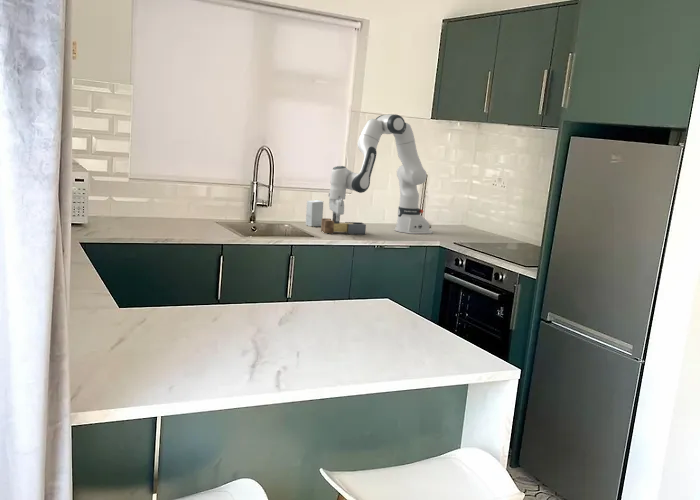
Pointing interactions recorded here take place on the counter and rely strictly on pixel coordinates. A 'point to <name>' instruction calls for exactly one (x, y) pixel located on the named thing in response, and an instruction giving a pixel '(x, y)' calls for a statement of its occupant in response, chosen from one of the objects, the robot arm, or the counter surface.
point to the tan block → (340, 225)
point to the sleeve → (356, 228)
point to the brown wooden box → (327, 225)
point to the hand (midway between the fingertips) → (335, 220)
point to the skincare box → (314, 213)
